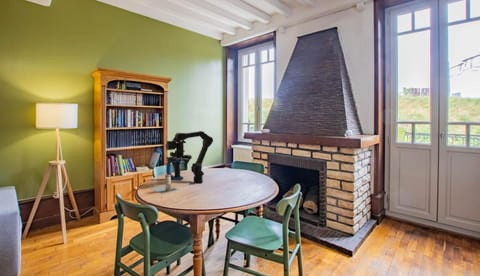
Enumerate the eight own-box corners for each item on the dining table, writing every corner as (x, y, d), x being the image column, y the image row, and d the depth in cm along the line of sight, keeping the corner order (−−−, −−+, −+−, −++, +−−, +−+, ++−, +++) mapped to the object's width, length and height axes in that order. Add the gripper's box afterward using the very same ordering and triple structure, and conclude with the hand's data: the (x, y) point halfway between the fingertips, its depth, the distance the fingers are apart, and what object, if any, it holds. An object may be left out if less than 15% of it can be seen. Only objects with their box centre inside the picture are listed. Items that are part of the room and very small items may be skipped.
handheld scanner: (183, 180, 219) (183, 157, 218) (166, 179, 223) (165, 156, 221) (186, 179, 224) (185, 156, 222) (168, 178, 227) (168, 156, 226)
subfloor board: (147, 190, 191) (147, 188, 191) (164, 186, 202) (164, 184, 202) (163, 196, 178) (163, 193, 178) (180, 191, 189) (180, 189, 189)
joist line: (173, 188, 191) (173, 188, 191) (177, 189, 189) (177, 189, 189) (158, 192, 182) (158, 192, 182) (162, 193, 179) (162, 193, 179)
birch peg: (171, 189, 187) (171, 174, 186) (169, 191, 183) (169, 175, 182) (166, 189, 187) (166, 174, 186) (164, 191, 184) (164, 175, 183)
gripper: (183, 147, 215) (183, 165, 216) (163, 149, 201) (163, 169, 202) (192, 148, 207) (192, 167, 209) (171, 150, 194) (172, 171, 195)
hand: (180, 169), depth 204 cm, fingers open, 9 cm apart
